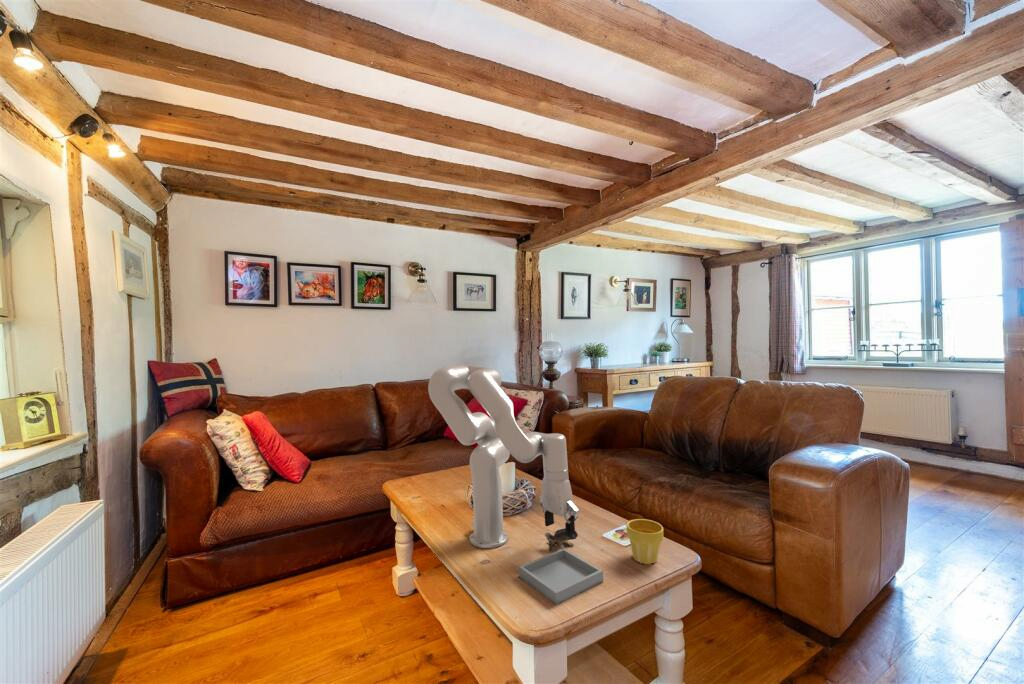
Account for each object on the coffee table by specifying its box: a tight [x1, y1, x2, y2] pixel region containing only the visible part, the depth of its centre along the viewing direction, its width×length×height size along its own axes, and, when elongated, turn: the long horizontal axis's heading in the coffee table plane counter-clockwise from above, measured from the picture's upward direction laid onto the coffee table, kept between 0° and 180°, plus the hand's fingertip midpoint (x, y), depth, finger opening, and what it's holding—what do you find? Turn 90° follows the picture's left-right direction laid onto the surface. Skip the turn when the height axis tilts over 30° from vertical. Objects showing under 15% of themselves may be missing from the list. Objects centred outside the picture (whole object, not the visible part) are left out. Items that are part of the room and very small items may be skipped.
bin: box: [518, 548, 604, 606], centre depth 119 cm, size 16×17×3 cm
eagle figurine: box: [544, 527, 579, 552], centre depth 136 cm, size 8×7×9 cm
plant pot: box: [626, 518, 664, 565], centre depth 128 cm, size 10×10×10 cm
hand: (559, 529), depth 135 cm, fingers open, 9 cm apart
